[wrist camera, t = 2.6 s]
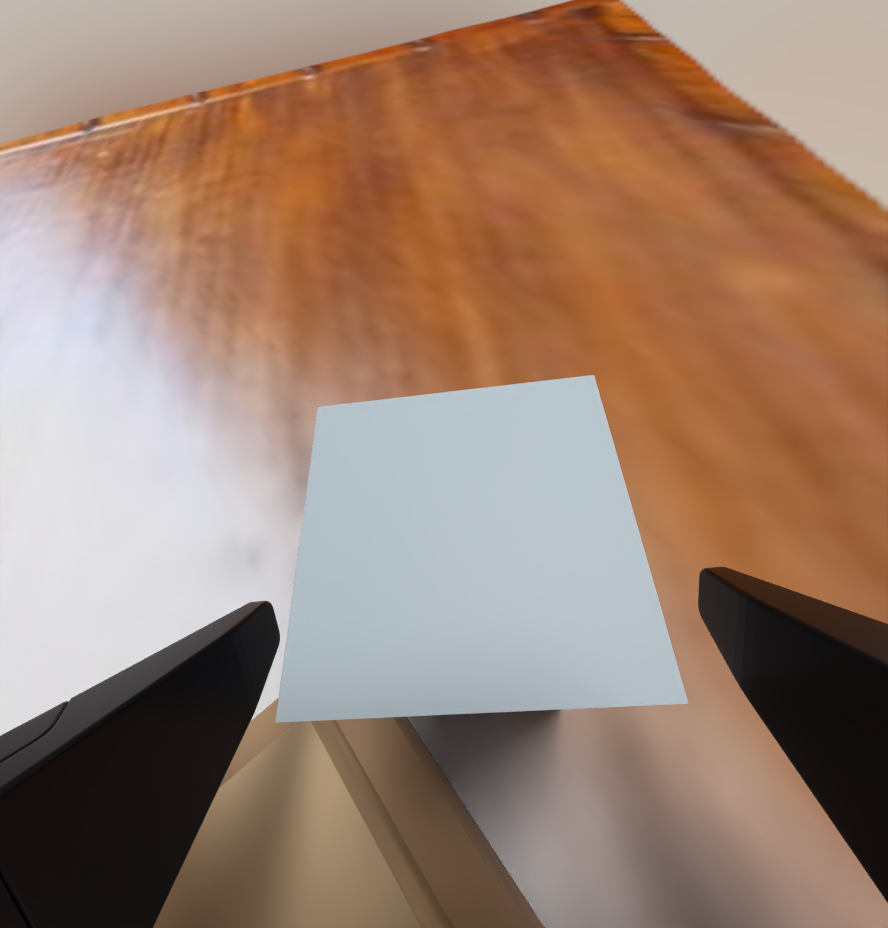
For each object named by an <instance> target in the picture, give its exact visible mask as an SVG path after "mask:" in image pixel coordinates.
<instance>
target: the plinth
mask: <svg viewBox="0 0 888 928" xmlns="http://www.w3.org/2000/svg"><path fill="white" fill-rule="evenodd" d="M278 699H279V698H278ZM278 699H277V700H275V701H274V702H273V703H272V704H271V705H270V706H268V707H267V708H266V709H265V710H264V711H262V712H261V713H260V714H259V715H258V716H257V717H255V718H254V719H253V720H252V721H251V722H250V723H249V725H248V728H247V730H246V732H245V734H244V736H243V738H242V740H241V742H240V745H239V747H238V749H237V751H236V753H235V755H234V757H233V759H232V762H231V764H230V766H229V768H228V770H227V772H226V774H225V776H224V779H223V781H222V783H221V785H220V787H219V789H218V791H217V793H216V795H215V798H214V800H213V802H212V804H211V806H210V808H209V810H208V812H207V815H206V817H205V819H204V821H203V823H202V825H201V827H200V829H199V832H198V834H197V836H196V838H195V840H194V842H193V844H192V846H191V849H190V851H189V853H188V855H187V857H186V859H185V861H184V863H183V866H182V868H181V870H180V872H179V874H178V876H177V878H176V880H175V882H174V885H173V887H172V889H171V891H170V893H169V895H168V897H167V899H166V902H165V904H164V906H163V908H162V910H161V912H160V914H159V916H158V919H157V921H156V923H155V925H154V927H153V928H544V927H543V925H542V924H541V922H540V920H539V919H538V917H537V916H536V914H535V913H534V911H533V910H532V908H531V907H530V905H529V904H528V902H527V901H526V899H525V897H524V896H523V894H522V893H521V891H520V890H519V888H518V887H517V885H516V884H515V882H514V881H513V879H512V878H511V876H510V874H509V873H508V871H507V870H506V868H505V867H504V865H503V864H502V862H501V861H500V859H499V858H498V856H497V855H496V853H495V852H494V850H493V848H492V847H491V845H490V844H489V842H488V841H487V839H486V838H485V836H484V835H483V833H482V832H481V830H480V829H479V827H478V825H477V824H476V822H475V821H474V819H473V818H472V816H471V815H470V813H469V812H468V810H467V809H466V807H465V806H464V804H463V803H462V801H461V799H460V798H459V796H458V795H457V793H456V792H455V790H454V789H453V787H452V786H451V784H450V783H449V781H448V780H447V778H446V776H445V775H444V773H443V772H442V770H441V769H440V767H439V766H438V764H437V763H436V761H435V760H434V758H433V757H432V755H431V753H430V752H429V750H428V749H427V747H426V746H425V744H424V743H423V741H422V740H421V738H420V737H419V735H418V734H417V732H416V731H415V729H414V727H413V726H412V724H411V723H410V721H409V720H408V718H407V717H386V718H365V719H343V720H321V721H300V722H278V723H275V721H276V714H277V706H278Z"/></svg>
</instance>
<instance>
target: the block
mask: <svg viewBox="0 0 888 928" xmlns="http://www.w3.org/2000/svg"><path fill="white" fill-rule="evenodd" d="M668 704H688V701H687V697H686V694H685V690H684V687H683V683H682V680H681V676H680V673H679V669H678V666H677V662H676V659H675V655H674V652H673V648H672V645H671V641H670V638H669V634H668V631H667V627H666V624H665V621H664V617H663V614H662V610H661V607H660V603H659V600H658V596H657V593H656V589H655V586H654V582H653V579H652V575H651V572H650V568H649V565H648V561H647V558H646V554H645V551H644V547H643V544H642V541H641V537H640V534H639V530H638V527H637V523H636V520H635V516H634V513H633V509H632V506H631V502H630V499H629V495H628V492H627V488H626V485H625V481H624V478H623V474H622V471H621V467H620V464H619V461H618V457H617V454H616V450H615V447H614V443H613V440H612V436H611V433H610V429H609V426H608V422H607V419H606V415H605V412H604V408H603V405H602V401H601V398H600V394H599V391H598V387H597V384H596V381H595V377H594V375H590V376H581V377H573V378H564V379H555V380H547V381H538V382H530V383H521V384H512V385H504V386H495V387H486V388H478V389H469V390H461V391H452V392H443V393H435V394H426V395H418V396H409V397H400V398H392V399H383V400H374V401H366V402H357V403H349V404H340V405H331V406H323V407H318V411H317V419H316V426H315V433H314V441H313V448H312V455H311V463H310V470H309V478H308V485H307V492H306V500H305V507H304V514H303V522H302V529H301V537H300V544H299V551H298V559H297V566H296V574H295V581H294V588H293V596H292V603H291V610H290V618H289V625H288V633H287V640H286V647H285V655H284V662H283V669H282V677H281V684H280V692H279V699H278V706H277V714H276V721H275V723H278V722H300V721H321V720H343V719H365V718H386V717H408V716H430V715H451V714H473V713H495V712H516V711H538V710H559V709H581V708H603V707H624V706H646V705H668Z"/></svg>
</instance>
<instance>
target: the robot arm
mask: <svg viewBox="0 0 888 928" xmlns="http://www.w3.org/2000/svg"><path fill="white" fill-rule="evenodd" d="M698 607H699V612H700V615H701V617H702V619H703V621H704V623H705V625H706V627H707V629H708V630H709V632H710V634H711V636H712V638H713V639H714V641H715V643H716V645H717V647H718V649H719V650H720V652H721V654H722V656H723V658H724V660H725V661H726V663H727V665H728V667H729V669H730V670H731V672H732V674H733V676H734V678H735V679H736V681H737V683H738V684H739V686H740V688H741V689H742V691H743V692H744V694H745V696H746V697H747V699H748V700H749V702H750V703H751V704H752V706H753V707H754V709H755V710H756V712H757V713H758V715H759V716H760V718H761V719H762V720H763V722H764V723H765V725H766V726H767V728H768V729H769V731H770V732H771V734H772V735H773V736H774V738H775V739H776V741H777V742H778V744H779V745H780V747H781V748H782V750H783V751H784V753H785V754H786V755H787V757H788V758H789V760H790V761H791V763H792V764H793V766H794V767H795V769H796V770H797V771H798V773H799V774H800V776H801V777H802V779H803V780H804V782H805V783H806V785H807V786H808V787H809V789H810V790H811V792H812V793H813V795H814V796H815V798H816V799H817V801H818V802H819V803H820V805H821V806H822V808H823V809H824V811H825V812H826V814H827V815H828V817H829V818H830V820H831V821H832V822H833V824H834V825H835V827H836V828H837V830H838V831H839V833H840V834H841V836H842V837H843V838H844V840H845V841H846V843H847V844H848V846H849V847H850V849H851V850H852V852H853V853H854V854H855V856H856V857H857V859H858V860H859V862H860V863H861V865H862V866H863V868H864V869H865V870H866V872H867V873H868V875H869V876H870V878H871V879H872V881H873V882H874V884H875V885H876V887H877V888H878V889H879V891H880V892H881V894H882V895H883V897H884V898H885V900H886V901H887V903H888V624H886V623H883V622H880V621H878V620H875V619H872V618H869V617H866V616H863V615H860V614H858V613H855V612H852V611H849V610H846V609H843V608H840V607H838V606H835V605H832V604H829V603H826V602H823V601H820V600H818V599H815V598H812V597H809V596H806V595H803V594H800V593H798V592H795V591H792V590H789V589H786V588H783V587H780V586H778V585H775V584H772V583H769V582H766V581H763V580H760V579H758V578H755V577H752V576H749V575H746V574H743V573H740V572H738V571H735V570H732V569H729V568H726V567H713V568H704V569H703V570H702V571H701V572H700V576H699V597H698ZM279 642H280V633H279V628H278V624H277V621H276V617H275V613H274V609H273V606H272V604H271V603H270V602H268V601H258V602H250V603H248V604H246V605H244V606H242V607H241V608H239V609H237V610H235V611H233V612H231V613H229V614H227V615H226V616H224V617H222V618H220V619H218V620H216V621H214V622H213V623H211V624H209V625H207V626H205V627H203V628H201V629H200V630H198V631H196V632H194V633H192V634H190V635H188V636H186V637H185V638H183V639H181V640H179V641H177V642H175V643H173V644H172V645H170V646H168V647H166V648H164V649H162V650H160V651H159V652H157V653H155V654H153V655H151V656H149V657H147V658H145V659H144V660H142V661H140V662H138V663H136V664H134V665H132V666H131V667H129V668H127V669H125V670H123V671H121V672H119V673H118V674H116V675H114V676H112V677H110V678H108V679H106V680H104V681H103V682H101V683H99V684H97V685H95V686H93V687H91V688H90V689H88V690H86V691H84V692H82V693H80V694H78V695H77V696H75V697H73V698H71V699H70V701H69V702H68V701H66V702H63V703H61V704H60V705H58V706H56V707H54V708H52V709H50V710H48V711H47V712H45V713H43V714H41V715H39V716H37V717H35V718H33V719H31V720H29V721H28V722H26V723H24V724H22V725H20V726H18V727H16V728H14V729H12V730H10V731H9V732H7V733H5V734H3V735H1V736H0V928H153V927H154V925H155V923H156V921H157V919H158V916H159V914H160V912H161V910H162V908H163V906H164V904H165V902H166V899H167V897H168V895H169V893H170V891H171V889H172V887H173V885H174V882H175V880H176V878H177V876H178V874H179V872H180V870H181V868H182V866H183V863H184V861H185V859H186V857H187V855H188V853H189V851H190V849H191V846H192V844H193V842H194V840H195V838H196V836H197V834H198V832H199V829H200V827H201V825H202V823H203V821H204V819H205V817H206V815H207V812H208V810H209V808H210V806H211V804H212V802H213V800H214V798H215V795H216V793H217V791H218V789H219V787H220V785H221V783H222V781H223V779H224V776H225V774H226V772H227V770H228V768H229V766H230V764H231V762H232V759H233V757H234V755H235V753H236V751H237V749H238V747H239V745H240V742H241V740H242V738H243V736H244V734H245V732H246V730H247V728H248V725H249V723H250V721H251V719H252V716H253V714H254V712H255V709H256V707H257V704H258V702H259V699H260V696H261V694H262V691H263V688H264V685H265V682H266V680H267V677H268V674H269V671H270V668H271V666H272V663H273V660H274V657H275V654H276V652H277V649H278V646H279Z"/></svg>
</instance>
